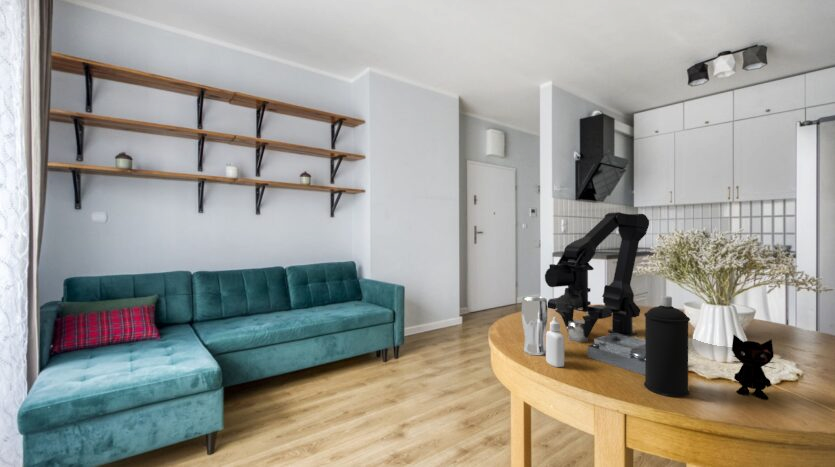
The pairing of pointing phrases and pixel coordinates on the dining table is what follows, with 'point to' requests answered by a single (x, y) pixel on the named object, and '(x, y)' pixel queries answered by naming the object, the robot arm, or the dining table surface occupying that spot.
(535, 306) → the beer glass
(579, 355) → the dining table surface
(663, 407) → the dining table surface
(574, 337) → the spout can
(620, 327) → the robot arm
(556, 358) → the eye dropper bottle
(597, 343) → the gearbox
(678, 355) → the aerosol can
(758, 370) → the cat figurine
